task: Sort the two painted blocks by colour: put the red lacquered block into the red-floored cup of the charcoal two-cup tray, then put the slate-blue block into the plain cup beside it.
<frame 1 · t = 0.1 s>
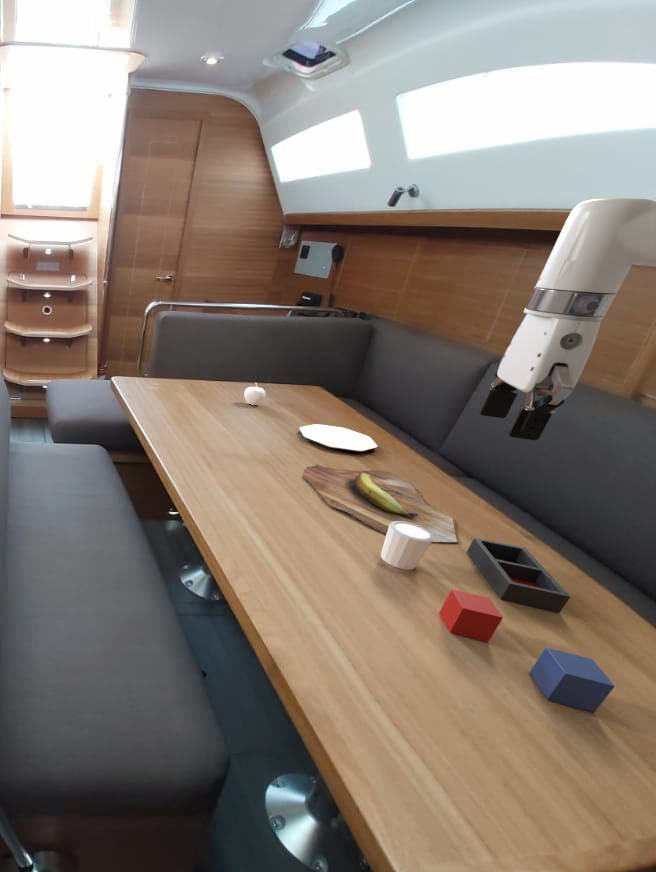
hand: (506, 426, 73), 32 cm above the table, tool pointing down, fingers open, 9 cm apart
cutting board: (376, 501, 118), on the table
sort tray: (509, 580, 92), on the table
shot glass: (397, 561, 96), on the table
plain white apple: (252, 404, 182), on the table
red block: (462, 626, 80), on the table
plate: (335, 441, 152), on the table
blue block: (560, 691, 69), on the table
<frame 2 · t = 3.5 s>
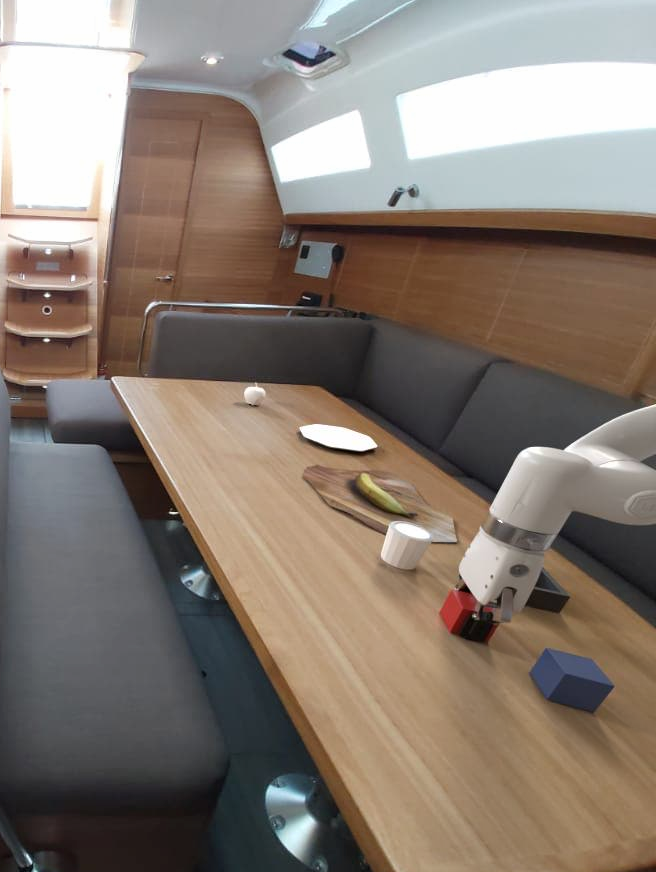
hand: (463, 624, 80), 0 cm above the table, tool pointing down, fingers closed on red block, 5 cm apart
red block: (462, 626, 80), on the table, touching gripper
everything else where it was.
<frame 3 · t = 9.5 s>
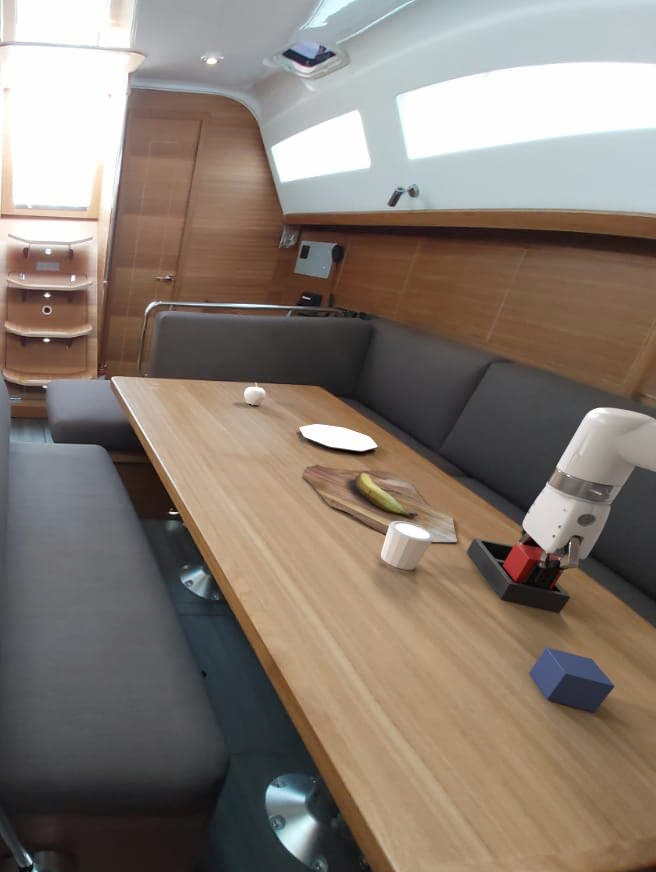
hand: (527, 575, 87), 4 cm above the table, tool pointing down, fingers closed on red block, 5 cm apart
red block: (526, 577, 87), point 3 cm above the table, touching gripper
everything else where it was.
when the fingers open (4 cm above the table, at t = 12.2 s): red block drops 3 cm, resting on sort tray.
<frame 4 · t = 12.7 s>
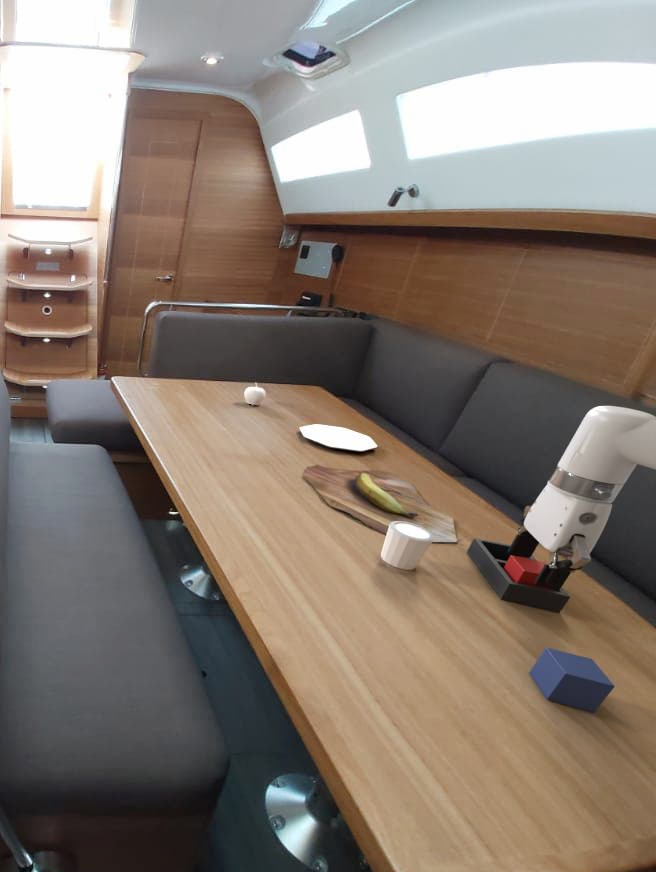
hand: (531, 570, 87), 5 cm above the table, tool pointing down, fingers open, 9 cm apart
red block: (521, 589, 88), point 1 cm above the table, touching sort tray
everything else where it was.
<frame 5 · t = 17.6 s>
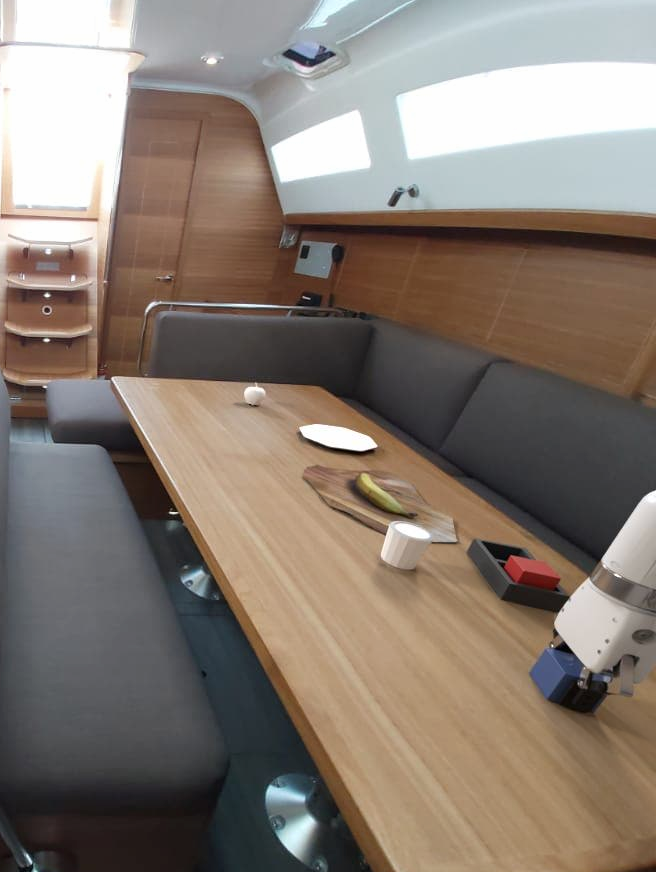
hand: (561, 689, 69), 0 cm above the table, tool pointing down, fingers closed on blue block, 5 cm apart
blue block: (560, 691, 69), on the table, touching gripper
everything else where it was.
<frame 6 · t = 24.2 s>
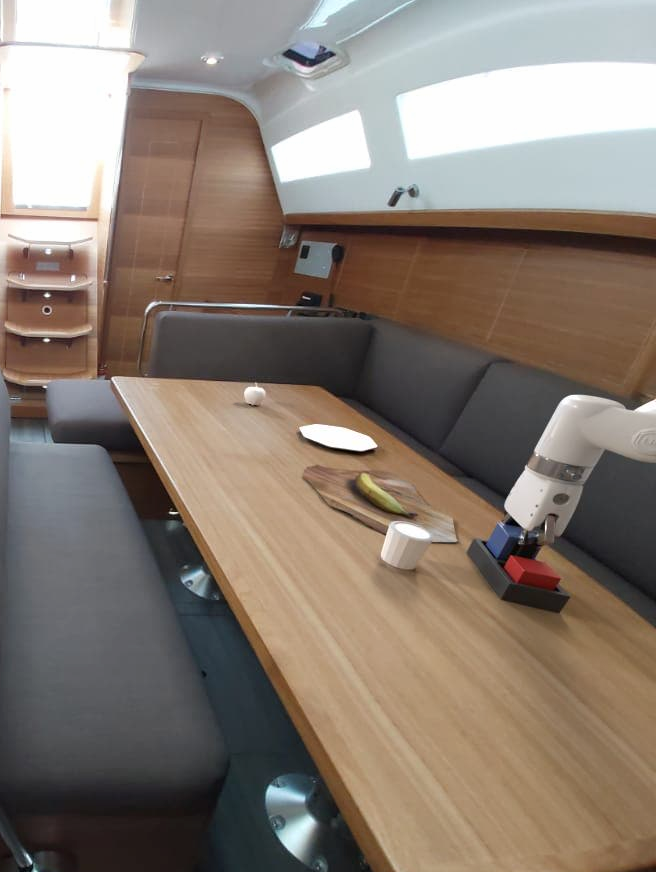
hand: (509, 553, 93), 4 cm above the table, tool pointing down, fingers closed on blue block, 5 cm apart
blue block: (507, 554, 94), point 3 cm above the table, touching gripper
everything else where it was.
when the fingers open (4 cm above the table, at t = 26.8 s): blue block drops 3 cm, resting on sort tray.
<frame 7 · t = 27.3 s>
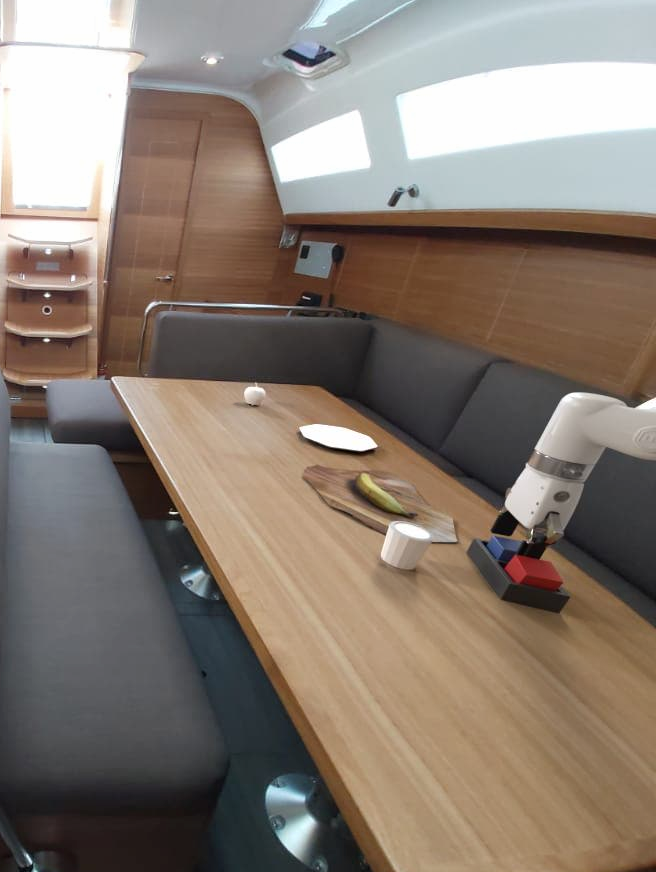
hand: (511, 547, 93), 5 cm above the table, tool pointing down, fingers open, 9 cm apart
red block: (522, 587, 88), point 1 cm above the table, tilted 11°, touching gripper, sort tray
blue block: (502, 567, 95), resting on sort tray
everything else where it was.
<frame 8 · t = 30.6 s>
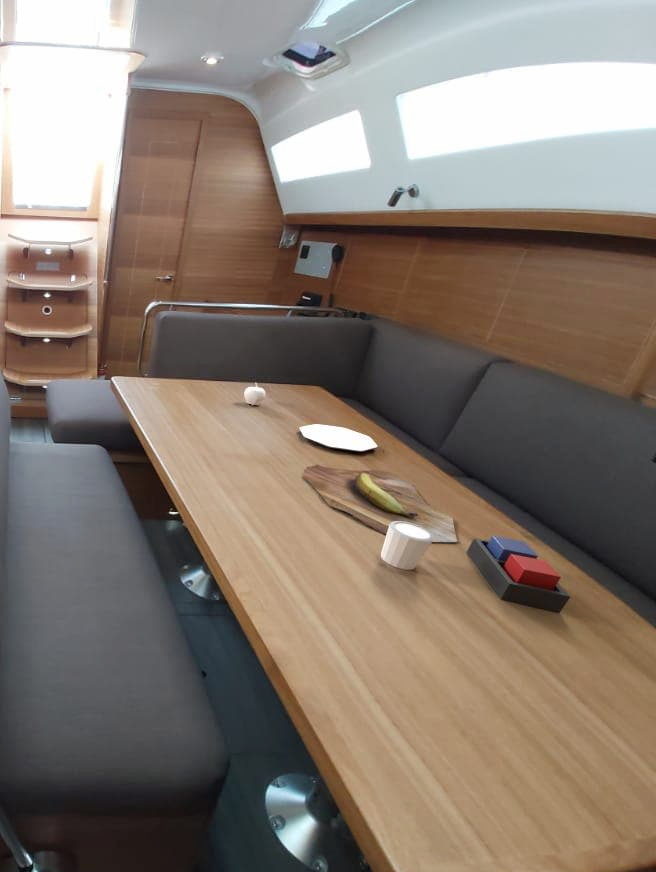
red block: (521, 587, 89), point 1 cm above the table, touching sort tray
everything else where it was.
at the end: red block 0.6 cm from the target spot in the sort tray, point 0.7 cm above the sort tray's base; blue block 0.1 cm from the target spot in the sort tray, point 0.5 cm above the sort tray's base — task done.
